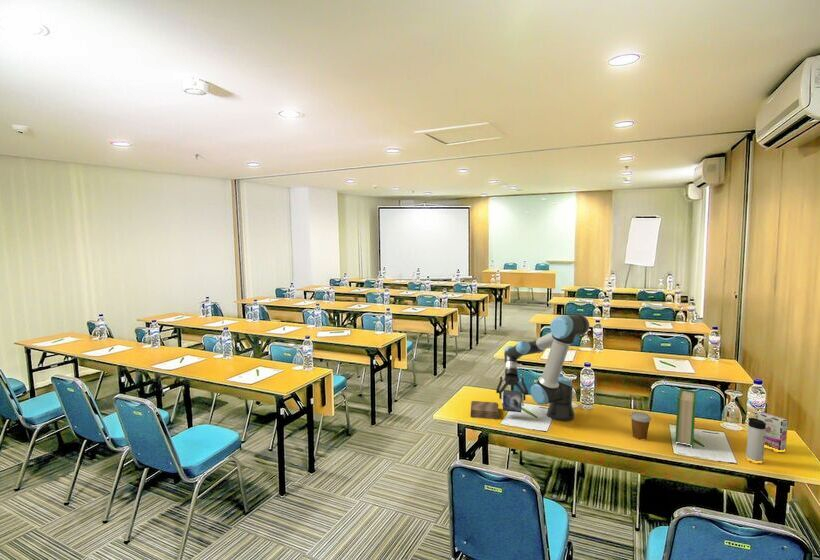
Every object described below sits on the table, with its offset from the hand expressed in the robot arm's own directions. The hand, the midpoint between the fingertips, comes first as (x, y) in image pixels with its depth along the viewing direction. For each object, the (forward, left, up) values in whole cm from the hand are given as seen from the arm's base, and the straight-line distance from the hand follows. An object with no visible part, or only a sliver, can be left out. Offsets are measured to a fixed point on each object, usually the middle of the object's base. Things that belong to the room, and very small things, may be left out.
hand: (512, 404), depth 245 cm
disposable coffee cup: (-64, +12, -9) cm, 66 cm away
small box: (0, -3, -4) cm, 5 cm away
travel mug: (-108, +29, -9) cm, 112 cm away
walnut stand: (+16, -6, -9) cm, 19 cm away
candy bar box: (-124, +13, -9) cm, 125 cm away
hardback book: (-86, +11, -9) cm, 87 cm away
